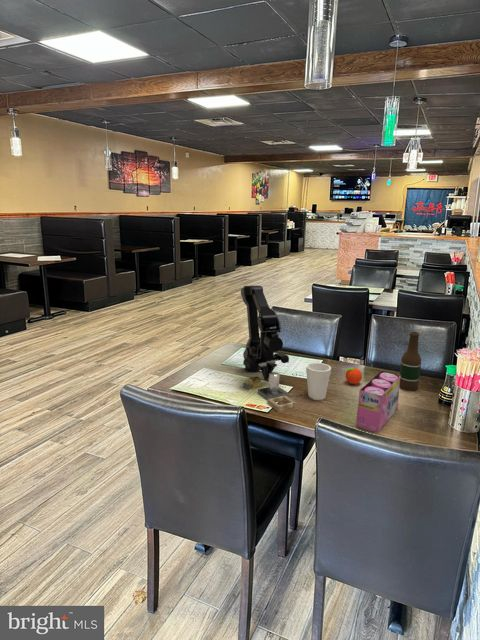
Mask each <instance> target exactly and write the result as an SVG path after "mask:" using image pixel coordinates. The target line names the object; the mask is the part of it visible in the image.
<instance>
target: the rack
mask: <svg viewBox="0 0 480 640" xmlns="http://www.w3.org/2000/svg"><path fill="white" fill-rule="evenodd" d="M278 402H285V403H283V404H279V403H278ZM266 403H267V405H269V406H270V407H271V408H273V409H274V410H275V411H276V412H281V411H282V412H283V411H286V410H290V409H295V408H296V407H297V403H296V401H294V400H293V399H291V398H290V397H289V398H288V397H287V396H280V397H276V398H272V399H267V402H266Z"/></svg>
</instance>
